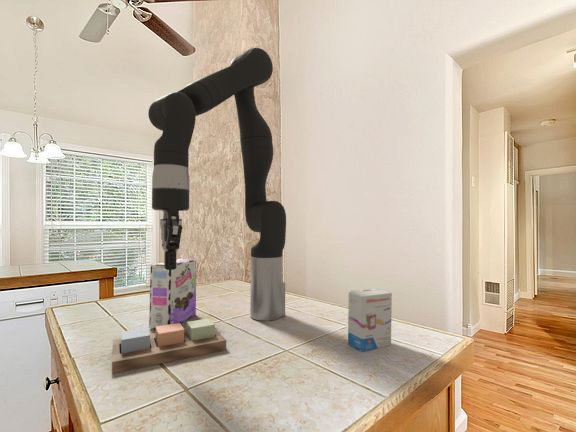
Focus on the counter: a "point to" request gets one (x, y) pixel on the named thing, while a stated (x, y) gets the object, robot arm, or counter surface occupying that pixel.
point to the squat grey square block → (135, 340)
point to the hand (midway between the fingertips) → (170, 269)
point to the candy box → (172, 293)
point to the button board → (164, 352)
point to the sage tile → (200, 329)
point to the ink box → (369, 319)
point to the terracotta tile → (169, 334)
